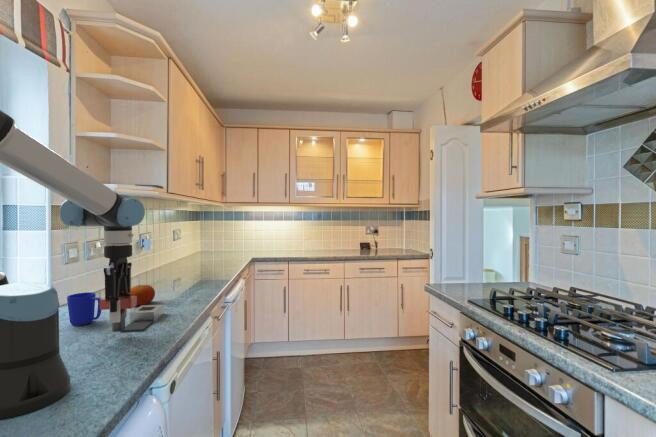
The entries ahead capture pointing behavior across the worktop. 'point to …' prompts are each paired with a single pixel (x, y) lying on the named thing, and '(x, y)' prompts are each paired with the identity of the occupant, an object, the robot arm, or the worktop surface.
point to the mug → (82, 308)
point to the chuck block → (146, 313)
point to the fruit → (143, 294)
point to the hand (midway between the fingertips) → (118, 319)
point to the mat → (137, 326)
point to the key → (125, 303)
